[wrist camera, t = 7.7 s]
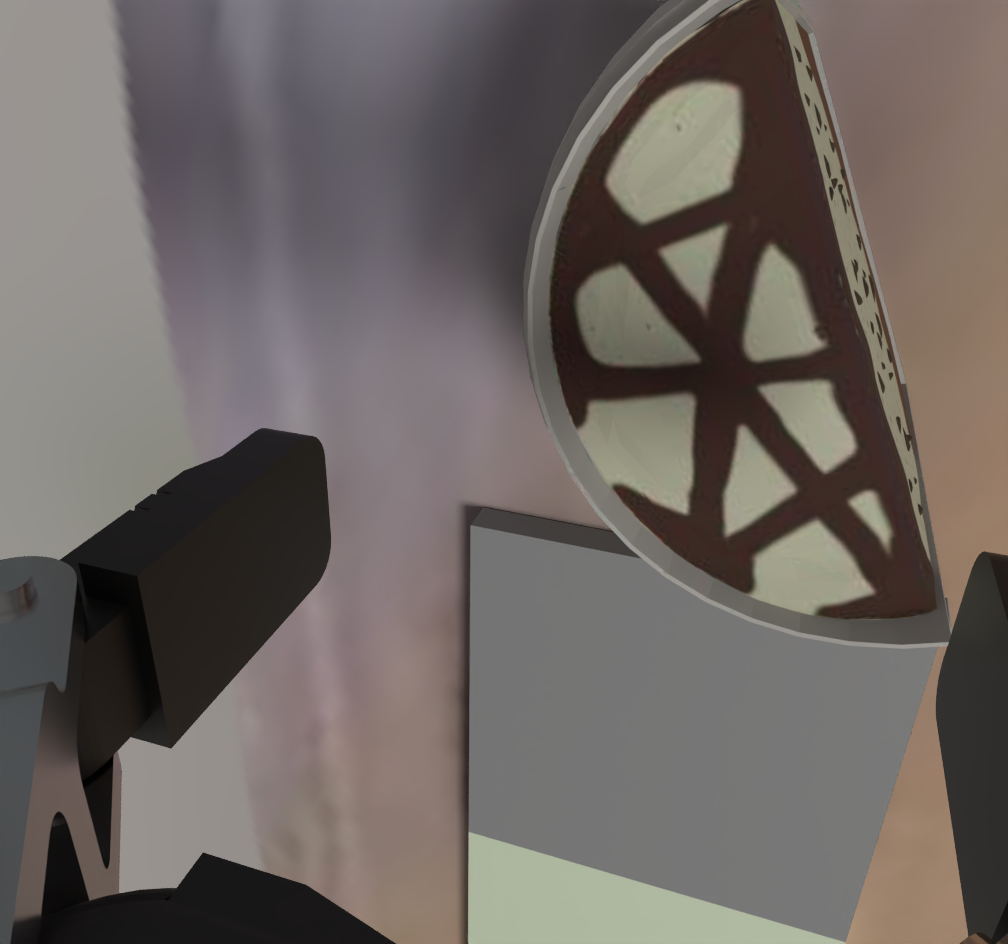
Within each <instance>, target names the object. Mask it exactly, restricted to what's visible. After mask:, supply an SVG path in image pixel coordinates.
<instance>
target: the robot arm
mask: <svg viewBox="0 0 1008 944" xmlns="http://www.w3.org/2000/svg"><path fill="white" fill-rule="evenodd" d="M330 549H331V531H330V518H329V504H328V491H327V478H326V464H325V454H324V449H323V446H322V444H321V442H320V441H319V439H317V438H316V437H314V436H308V435H302V434H297V433H291V432H285V431H279V430H273V429H267V428H262V429H259V430H257V431H255V432H254V433H253V434H251V435H250V436H249V437H247V438H246V439H244V440H243V441H242V442H240V443H239V444H238V445H236V446H235V447H234V448H232V449H231V450H230V451H228V452H227V453H226V454H224V455H223V456H221V457H218V458H216V459H213V460H211V461H208V462H205V463H203V464H200V465H198V466H195V467H193V468H190V469H187V470H185V471H183V472H182V473H180V474H179V475H177V476H176V477H175V478H173V479H172V480H170V481H169V482H168V483H166V484H165V485H163V486H162V487H161V488H159V489H158V490H157V494H156V495H155V494H151V495H150V496H148V497H147V498H145V499H144V500H143V501H141V502H140V503H138V504H137V505H136V506H135V510H134V511H132V510H129V511H127V512H126V513H125V514H123V515H122V516H120V517H119V518H118V519H116V520H115V521H113V522H112V523H111V524H109V525H108V526H107V527H105V528H104V529H102V530H101V531H99V532H98V533H97V534H95V535H94V536H93V537H91V538H90V539H88V540H87V541H85V542H84V543H83V544H81V545H80V546H79V547H77V548H76V549H74V550H73V551H72V552H70V553H69V554H67V555H66V556H65V557H63V558H62V559H60V560H57V559H54V558H48V557H40V556H39V557H38V556H26V557H25V556H24V557H14V558H8V559H3V560H0V944H396V943H394V942H393V941H391V940H389V939H388V938H386V937H385V936H383V935H382V934H380V933H379V932H377V931H376V930H374V929H373V928H371V927H370V926H368V925H367V924H365V923H364V922H362V921H360V920H359V919H357V918H356V917H354V916H353V915H351V914H350V913H348V912H347V911H345V910H344V909H342V908H341V907H339V906H338V905H336V904H335V903H333V902H331V901H330V900H328V899H327V898H325V897H324V896H322V895H321V894H319V893H318V892H316V891H315V890H313V889H312V888H310V887H309V886H307V885H305V884H302V883H298V882H295V881H292V880H289V879H286V878H282V877H279V876H276V875H273V874H270V873H267V872H263V871H260V870H257V869H254V868H250V867H247V866H244V865H241V864H238V863H235V862H231V861H228V860H225V859H222V858H219V857H215V856H212V855H209V854H206V853H202V855H201V856H200V857H199V859H198V860H197V861H196V863H195V864H194V865H193V867H192V868H191V869H190V871H189V872H188V873H187V875H186V876H185V878H184V879H183V880H182V882H181V883H180V884H179V886H178V887H177V888H162V889H146V890H137V891H132V892H125V893H119V863H120V821H121V781H122V770H121V763H120V759H119V755H118V750H119V749H120V748H121V746H122V745H123V744H124V743H125V742H126V741H127V740H128V739H129V738H130V737H133V738H136V739H140V740H143V741H147V742H151V743H154V744H157V745H161V746H164V747H168V748H172V747H173V746H174V745H175V744H176V742H177V741H178V740H179V739H180V738H181V737H182V736H183V735H184V733H185V732H186V731H187V730H188V729H189V728H190V727H191V726H192V724H193V723H194V722H195V721H196V720H197V719H198V718H199V717H200V715H201V714H202V713H203V712H204V711H205V710H206V709H207V708H208V706H209V705H210V704H211V703H212V702H213V701H214V700H215V699H216V697H217V696H218V695H219V694H220V693H221V692H222V691H223V689H224V688H225V687H226V686H227V685H228V684H229V683H230V682H231V681H232V679H233V678H234V677H235V676H236V675H237V674H238V673H239V672H240V670H241V669H242V668H243V667H244V666H245V665H246V664H247V663H248V661H249V660H250V659H251V658H252V657H253V656H254V655H255V654H256V652H257V651H258V650H259V649H260V648H261V647H262V646H263V645H264V643H265V642H266V641H267V640H268V639H269V638H270V637H271V636H272V634H273V633H274V632H275V631H276V630H277V629H278V628H279V627H280V625H281V624H282V623H283V622H284V621H285V620H286V619H287V618H288V616H289V615H290V614H291V613H292V612H293V611H294V610H295V609H296V607H297V606H298V605H299V604H300V603H301V602H302V601H303V600H304V598H305V597H306V596H307V595H308V594H309V593H310V592H311V591H312V589H313V588H314V587H315V586H316V585H317V584H318V582H319V581H320V579H321V578H322V576H323V574H324V571H325V569H326V566H327V563H328V560H329V555H330ZM936 720H937V727H938V734H939V740H940V747H941V754H942V761H943V767H944V774H945V781H946V788H947V794H948V801H949V808H950V815H951V821H952V828H953V835H954V842H955V848H956V855H957V862H958V869H959V875H960V882H961V889H962V896H963V902H964V909H965V916H966V923H967V929H968V936H969V937H968V938H966V939H965V940H964V941H962V942H961V943H960V944H1008V556H1007V555H1001V554H995V553H989V552H982V553H981V554H980V555H979V556H978V557H977V559H976V561H975V563H974V565H973V568H972V570H971V573H970V576H969V580H968V583H967V586H966V589H965V592H964V596H963V599H962V602H961V605H960V608H959V611H958V615H957V618H956V621H955V624H954V627H953V630H952V634H951V637H950V640H949V643H948V646H947V649H946V653H945V656H944V659H943V662H942V666H941V670H940V675H939V680H938V687H937V696H936Z"/></svg>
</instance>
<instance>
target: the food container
mask: <svg viewBox="0 0 1008 944" xmlns="http://www.w3.org/2000/svg"><path fill="white" fill-rule="evenodd" d="M523 332H524V338H525V345H526V351H527V357H528V364H529V370H530V377H531V380H532V383H533V387H534V390H535V393H536V396H537V399H538V402H539V405H540V409H541V412H542V415H543V418H544V421H545V424H546V426H547V428H548V430H549V433H550V436H551V438H552V440H553V442H554V444H555V446H556V448H557V450H558V452H559V454H560V456H561V458H562V460H563V462H564V464H565V466H566V468H567V470H568V472H569V474H570V476H571V477H572V479H573V480H574V482H575V483H576V484H577V486H578V487H579V489H580V490H581V492H582V493H583V494H584V496H585V497H586V499H587V500H588V502H589V503H590V504H591V506H592V507H593V509H594V510H595V512H596V513H597V514H598V515H599V516H600V518H601V519H602V520H603V521H604V522H605V523H606V524H607V525H608V526H609V527H610V528H611V529H612V530H613V531H614V533H615V534H616V535H617V536H618V537H619V538H620V539H621V540H622V541H623V542H624V543H625V544H626V545H627V546H628V547H629V548H630V549H631V550H632V551H633V552H635V553H636V554H637V555H638V556H640V557H641V558H642V559H643V560H644V561H646V562H647V563H648V564H649V565H651V566H652V567H653V568H654V569H656V570H657V571H658V572H659V573H660V574H662V575H663V576H664V577H666V578H667V579H669V580H670V581H672V582H674V583H675V584H677V585H679V586H680V587H682V588H684V589H685V590H687V591H688V592H690V593H692V594H693V595H695V596H697V597H698V598H700V599H701V600H703V601H705V602H707V603H709V604H711V605H713V606H716V607H718V608H720V609H722V610H725V611H727V612H729V613H731V614H733V615H736V616H738V617H740V618H742V619H745V620H747V621H749V622H752V623H755V624H758V625H762V626H765V627H768V628H771V629H775V630H778V631H781V632H784V633H788V634H791V635H794V636H798V637H803V638H808V639H814V640H820V641H825V642H831V643H837V644H842V645H848V646H863V647H880V648H898V649H907V648H924V647H941V646H948V643H949V640H950V637H951V634H952V626H951V618H950V610H949V604H948V600H947V598H945V595H944V590H943V584H942V578H941V573H940V567H939V562H938V556H937V550H936V545H935V539H934V534H933V528H932V522H931V517H930V511H929V506H928V500H927V494H926V489H925V483H924V478H923V472H922V467H921V461H920V455H919V450H918V444H917V439H916V433H915V427H914V422H913V416H912V411H911V405H910V399H909V394H908V388H907V384H906V380H905V377H904V373H903V369H902V365H901V361H900V358H899V354H898V350H897V346H896V342H895V339H894V335H893V331H892V327H891V323H890V320H889V316H888V312H887V308H886V304H885V301H884V297H883V293H882V289H881V285H880V281H879V278H878V274H877V270H876V266H875V262H874V259H873V255H872V251H871V247H870V243H869V240H868V236H867V232H866V228H865V224H864V221H863V217H862V213H861V209H860V205H859V202H858V198H857V194H856V190H855V186H854V182H853V179H852V175H851V171H850V167H849V163H848V160H847V156H846V152H845V148H844V144H843V141H842V137H841V133H840V129H839V125H838V122H837V118H836V114H835V110H834V106H833V103H832V99H831V95H830V91H829V87H828V83H827V80H826V76H825V72H824V68H823V64H822V61H821V57H820V53H819V49H818V45H817V42H816V38H815V34H814V30H813V26H812V23H811V21H810V20H809V18H808V17H807V16H806V14H805V13H804V11H803V10H802V9H801V7H800V6H799V4H798V3H797V1H796V0H668V1H666V2H665V3H664V4H663V5H661V6H660V7H659V8H658V9H657V10H656V11H655V12H654V13H653V14H652V15H651V16H650V17H649V18H648V19H647V20H646V22H645V23H644V24H643V25H642V26H641V27H640V28H639V29H638V30H637V31H636V32H635V33H634V34H633V35H632V37H631V38H630V39H629V40H628V41H627V42H626V43H625V44H624V45H623V46H622V47H621V48H620V49H619V51H618V52H617V53H616V54H615V55H614V56H613V57H612V59H611V60H610V62H609V63H608V65H607V66H606V68H605V69H604V71H603V72H602V73H601V75H600V76H599V78H598V79H597V81H596V82H595V84H594V85H593V87H592V88H591V89H590V91H589V92H588V94H587V95H586V97H585V98H584V100H583V101H582V102H581V104H580V105H579V107H578V109H577V112H576V114H575V116H574V118H573V120H572V122H571V124H570V126H569V128H568V130H567V132H566V134H565V136H564V138H563V140H562V142H561V144H560V146H559V148H558V150H557V153H556V155H555V157H554V159H553V162H552V164H551V167H550V170H549V172H548V175H547V178H546V181H545V185H544V188H543V191H542V194H541V197H540V200H539V204H538V207H537V210H536V213H535V216H534V219H533V222H532V226H531V231H530V237H529V244H528V250H527V257H526V263H525V270H524V276H523Z"/></svg>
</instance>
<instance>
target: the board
mask: <svg viewBox="0 0 1008 944" xmlns="http://www.w3.org/2000/svg"><path fill="white" fill-rule="evenodd" d="M937 648H938V647H924V648H907V649H898V648H880V647H863V646H848V645H842V644H837V643H831V642H825V641H820V640H814V639H808V638H803V637H798V636H794V635H791V634H788V633H784V632H781V631H778V630H775V629H771V628H768V627H765V626H762V625H758V624H755V623H752V622H749V621H747V620H745V619H742V618H740V617H738V616H736V615H733V614H731V613H729V612H727V611H725V610H722V609H720V608H718V607H716V606H713V605H711V604H709V603H707V602H705V601H703V600H701V599H700V598H698V597H697V596H695V595H693V594H692V593H690V592H688V591H687V590H685V589H684V588H682V587H680V586H679V585H677V584H675V583H674V582H672V581H670V580H669V579H667V578H666V577H664V576H663V575H662V574H660V573H659V572H658V571H657V570H656V569H654V568H653V567H652V566H651V565H649V564H648V563H647V562H646V561H644V560H643V559H642V558H641V557H640V556H638V555H637V554H636V553H635V552H633V551H632V550H631V549H630V548H629V547H628V546H627V545H626V544H625V543H624V542H623V541H622V540H621V539H620V538H619V537H618V536H617V535H616V534H615V533H614V532H611V531H606V530H600V529H595V528H590V527H585V526H579V525H574V524H569V523H563V522H558V521H553V520H548V519H542V518H537V517H532V516H526V515H521V514H516V513H511V512H505V511H500V510H495V509H490V508H484V507H483V508H482V510H481V511H480V513H479V514H478V515H477V517H476V518H475V520H474V521H473V522H472V524H471V525H470V694H469V864H468V944H845V942H846V939H847V936H848V932H849V929H850V926H851V923H852V920H853V916H854V913H855V910H856V907H857V904H858V900H859V897H860V894H861V891H862V888H863V884H864V881H865V878H866V875H867V872H868V868H869V865H870V862H871V859H872V856H873V852H874V849H875V846H876V843H877V840H878V836H879V833H880V830H881V827H882V824H883V820H884V817H885V814H886V811H887V808H888V804H889V801H890V798H891V795H892V792H893V788H894V785H895V782H896V779H897V776H898V772H899V769H900V766H901V763H902V760H903V756H904V753H905V750H906V747H907V744H908V740H909V737H910V734H911V731H912V728H913V724H914V721H915V718H916V715H917V712H918V708H919V705H920V702H921V699H922V696H923V692H924V689H925V686H926V683H927V680H928V676H929V673H930V670H931V667H932V664H933V660H934V657H935V654H936V651H937Z"/></svg>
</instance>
